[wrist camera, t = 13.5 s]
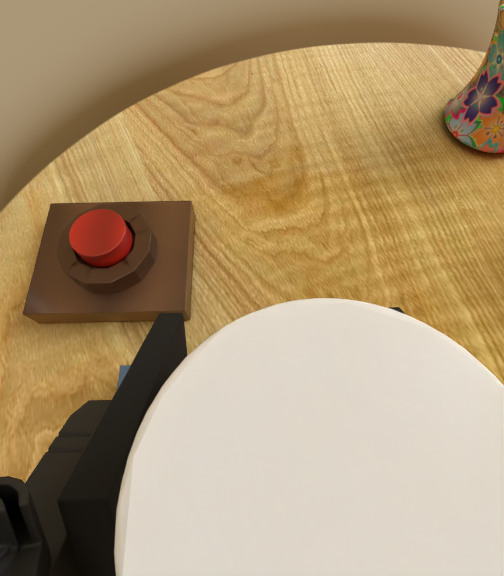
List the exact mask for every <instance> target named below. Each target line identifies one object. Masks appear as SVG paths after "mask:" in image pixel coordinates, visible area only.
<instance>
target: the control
mask: <svg viewBox="0 0 504 576" xmlns="http://www.w3.org/2000/svg"><path fill="white" fill-rule="evenodd" d="M97 209H107V210H111V211H114V212H116V213H117V214H119V215H120V216H121V217H122V218H123V220H124V222H125V223H126V225H127V227H128V229H129V230H130V232H131V234H132V238H133V244H132V248H131V250H130V252H129V254H128V255H127V256H126V257H125V258H124V259H123V260H122V261H121V262H119V263H117V264H115V265H113V266H109V267H95V266H91V265H89V264H88V263H86V262H85V261H84V260H83V259H82V258H81V257H80V256H79V255H78V253H77V252H76V251H75V250H74V249H73V248H72V246H71V244H70V241H69V233H70V229H71V227H72V225H73V224H74V222H75V221H76V220H77V219H78V218H79V217H80V216H82V215H83V214H85V213H87V212H90V211H92V210H97ZM194 233H195V212H194V208H193V205H192V201H152V202H103V203H55V204H51V205H50V209H49V213H48V217H47V221H46V224H45V228H44V232H43V236H42V240H41V244H40V248H39V252H38V256H37V260H36V264H35V268H34V272H33V276H32V280H31V283H30V287H29V291H28V295H27V299H26V303H25V307H24V311H23V315H25V316H27V317H29V318H30V319H32V320H34V321H36V322H38V323H77V322H123V321H155V320H156V318H157V317H158V315H159V313H183V318H184V320H190V309H191V290H192V271H193V252H194Z"/></svg>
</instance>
